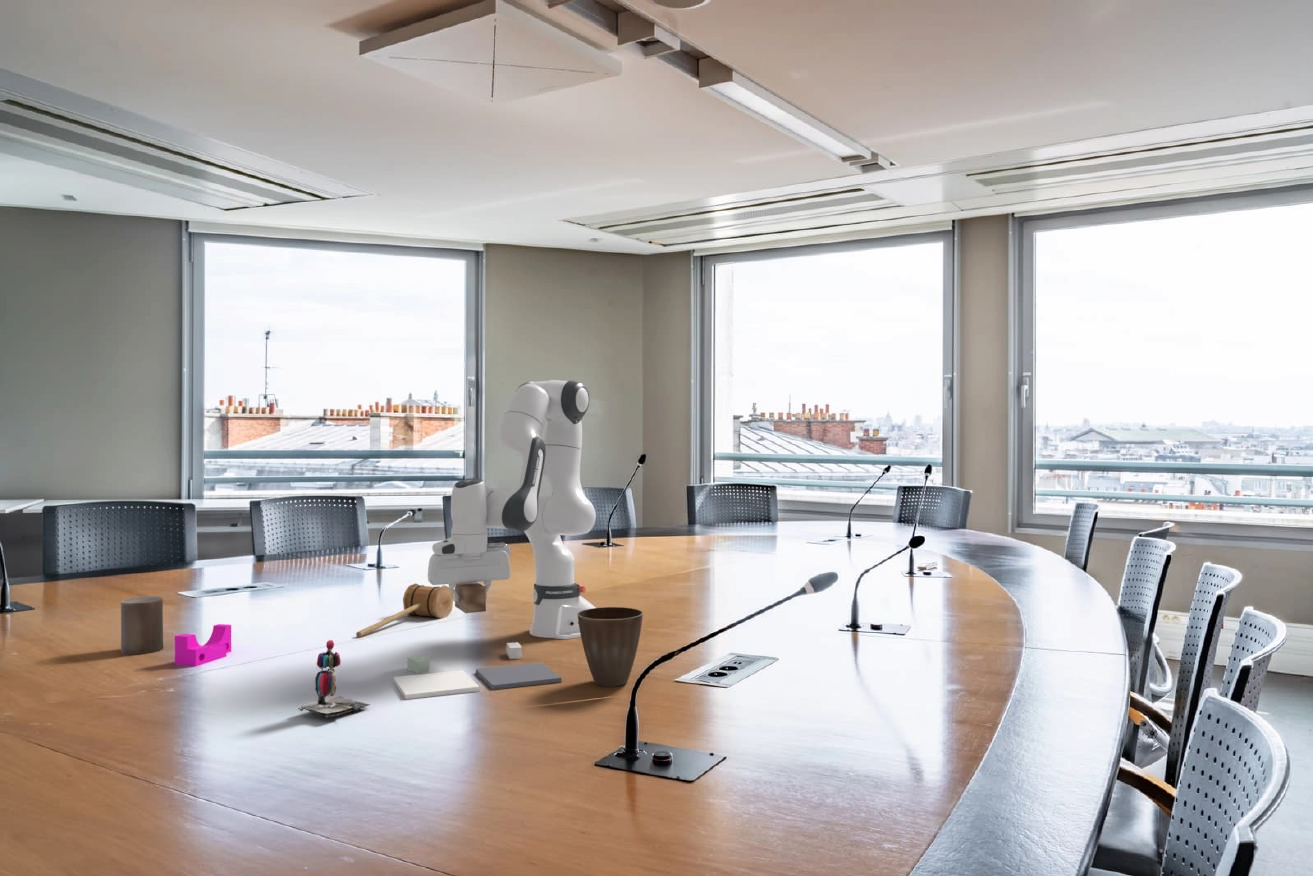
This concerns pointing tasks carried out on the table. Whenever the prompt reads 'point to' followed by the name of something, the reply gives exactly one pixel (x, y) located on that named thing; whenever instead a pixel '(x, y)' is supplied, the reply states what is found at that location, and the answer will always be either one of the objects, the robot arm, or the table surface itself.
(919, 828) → the table surface
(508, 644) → the pale grey brick
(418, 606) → the mallet
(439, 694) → the off-white mat
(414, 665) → the sage brick
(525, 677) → the charcoal mat
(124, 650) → the pillar candle
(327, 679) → the statue
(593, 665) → the plant pot
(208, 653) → the magenta cradle bracket
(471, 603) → the walnut brick
